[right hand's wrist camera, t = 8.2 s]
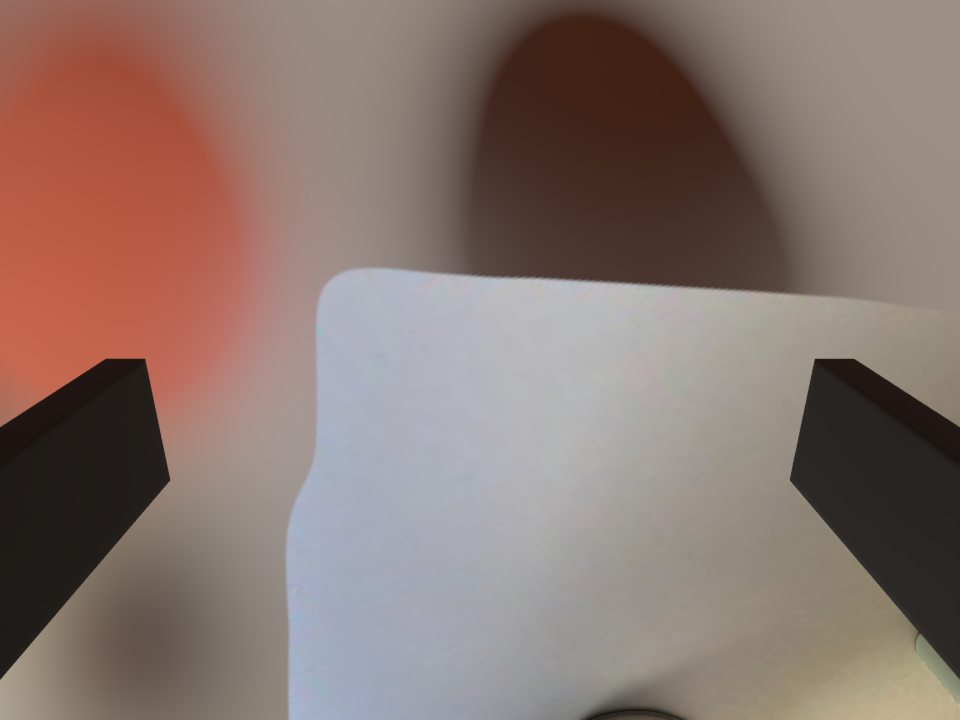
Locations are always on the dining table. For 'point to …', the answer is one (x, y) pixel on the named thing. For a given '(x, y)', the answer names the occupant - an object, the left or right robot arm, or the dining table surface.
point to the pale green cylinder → (938, 667)
